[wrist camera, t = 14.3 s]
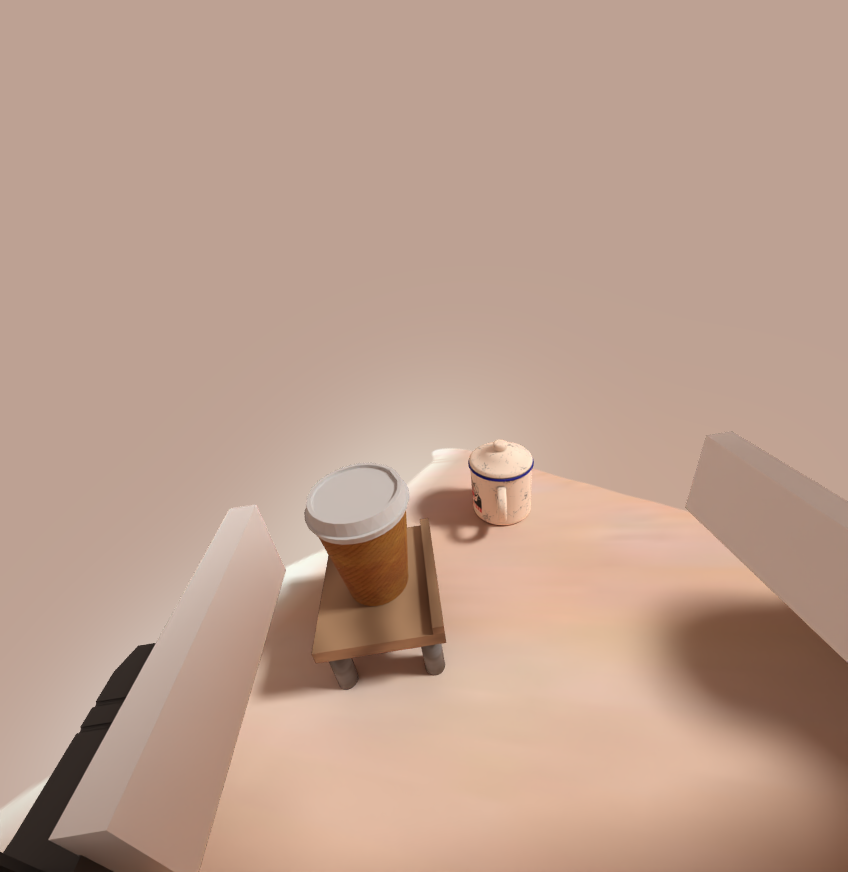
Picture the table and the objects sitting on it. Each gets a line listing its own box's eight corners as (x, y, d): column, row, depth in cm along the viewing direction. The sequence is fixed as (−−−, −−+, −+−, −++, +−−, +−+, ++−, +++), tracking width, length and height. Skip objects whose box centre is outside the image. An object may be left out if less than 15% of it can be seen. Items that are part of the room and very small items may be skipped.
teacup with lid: (473, 487, 63) (468, 427, 57) (529, 487, 61) (530, 425, 55) (469, 542, 52) (463, 474, 47) (537, 544, 51) (540, 474, 45)
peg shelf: (435, 566, 50) (428, 518, 45) (451, 677, 37) (443, 626, 33) (345, 580, 49) (329, 533, 45) (332, 697, 37) (308, 647, 33)
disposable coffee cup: (316, 587, 40) (280, 499, 34) (382, 533, 45) (362, 450, 39) (373, 642, 34) (343, 546, 28) (442, 572, 39) (429, 480, 33)
